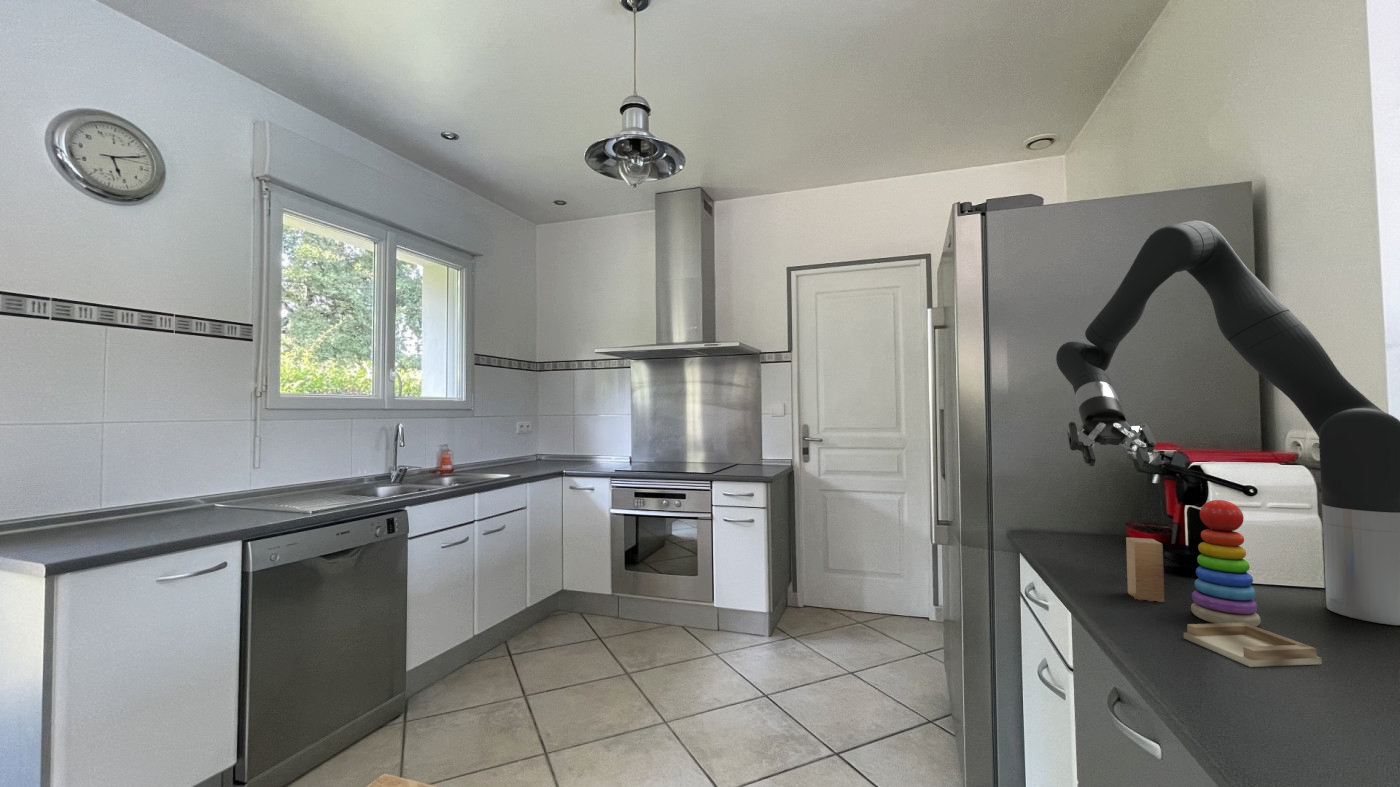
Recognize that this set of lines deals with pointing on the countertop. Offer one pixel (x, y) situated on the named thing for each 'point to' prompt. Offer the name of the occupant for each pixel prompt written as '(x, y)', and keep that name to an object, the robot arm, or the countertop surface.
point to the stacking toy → (1223, 569)
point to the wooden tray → (1251, 645)
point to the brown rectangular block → (1145, 569)
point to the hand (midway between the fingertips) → (1118, 464)
